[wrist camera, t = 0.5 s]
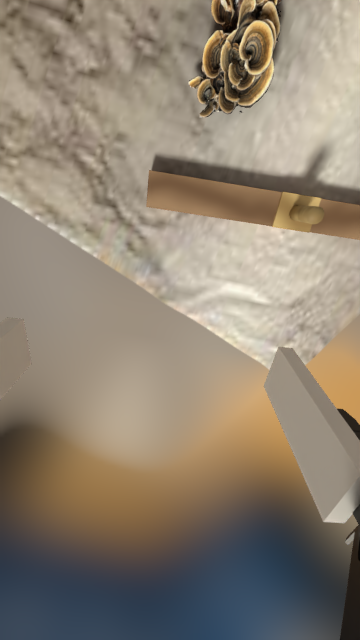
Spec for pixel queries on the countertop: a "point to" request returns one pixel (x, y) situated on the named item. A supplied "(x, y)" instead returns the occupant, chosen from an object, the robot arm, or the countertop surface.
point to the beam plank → (253, 205)
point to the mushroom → (238, 55)
